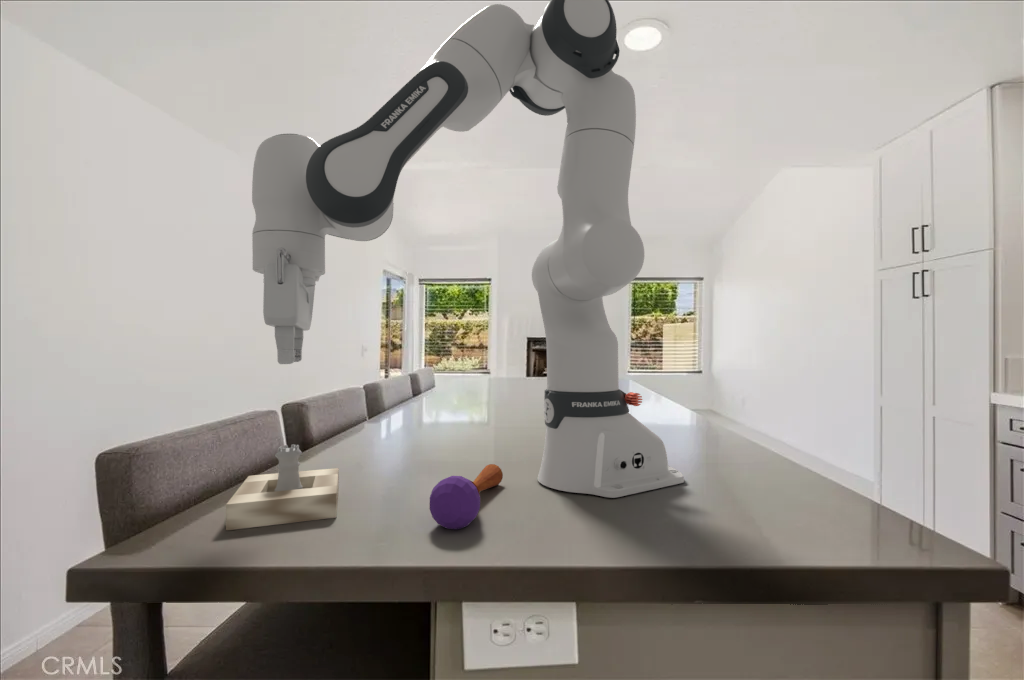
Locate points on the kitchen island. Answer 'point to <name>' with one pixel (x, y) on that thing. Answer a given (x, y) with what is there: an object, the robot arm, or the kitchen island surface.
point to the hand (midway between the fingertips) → (290, 362)
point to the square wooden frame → (283, 500)
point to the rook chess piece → (288, 468)
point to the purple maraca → (461, 497)
